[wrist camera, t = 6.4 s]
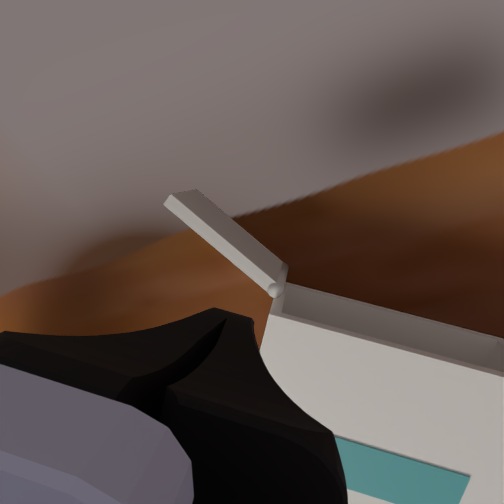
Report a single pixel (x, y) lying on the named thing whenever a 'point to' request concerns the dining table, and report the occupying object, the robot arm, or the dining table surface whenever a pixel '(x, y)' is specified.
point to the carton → (394, 396)
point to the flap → (230, 240)
